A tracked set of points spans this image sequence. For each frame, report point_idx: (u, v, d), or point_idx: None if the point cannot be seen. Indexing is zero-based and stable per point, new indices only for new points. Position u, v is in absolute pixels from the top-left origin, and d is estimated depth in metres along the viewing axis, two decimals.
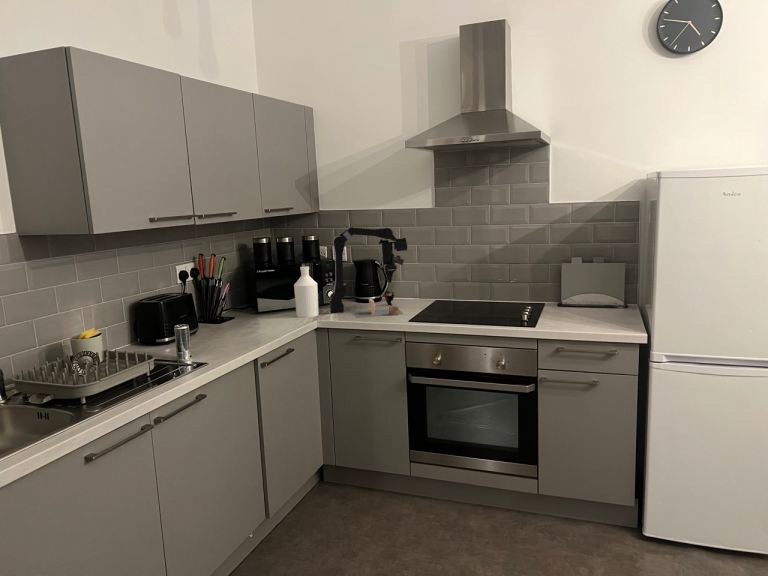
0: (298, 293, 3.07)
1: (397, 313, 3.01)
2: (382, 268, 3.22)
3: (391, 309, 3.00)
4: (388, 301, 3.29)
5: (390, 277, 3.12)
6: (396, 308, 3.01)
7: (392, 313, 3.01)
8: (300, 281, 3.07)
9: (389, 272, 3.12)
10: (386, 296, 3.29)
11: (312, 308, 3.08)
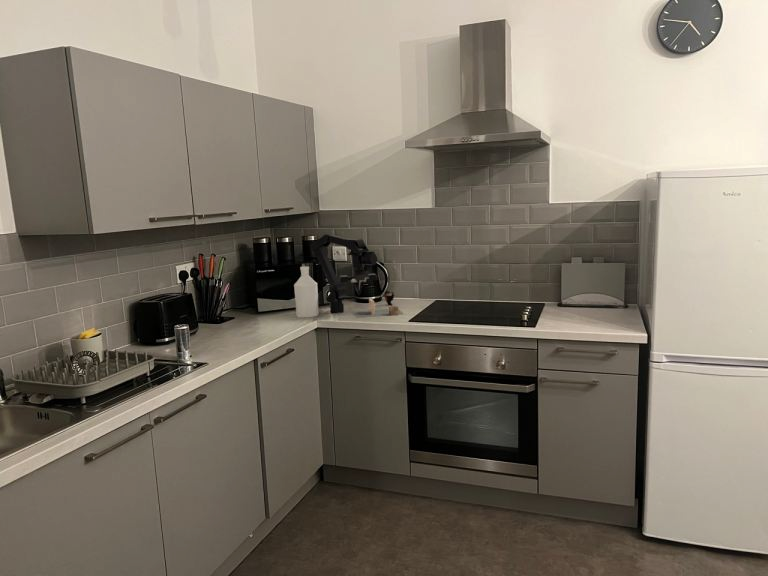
0: (298, 293, 3.07)
1: (397, 313, 3.01)
2: (359, 281, 3.07)
3: (391, 309, 3.00)
4: (388, 301, 3.29)
5: (356, 289, 3.05)
6: (396, 308, 3.01)
7: (392, 313, 3.01)
8: (300, 281, 3.07)
9: None
10: (386, 296, 3.29)
11: (312, 308, 3.08)
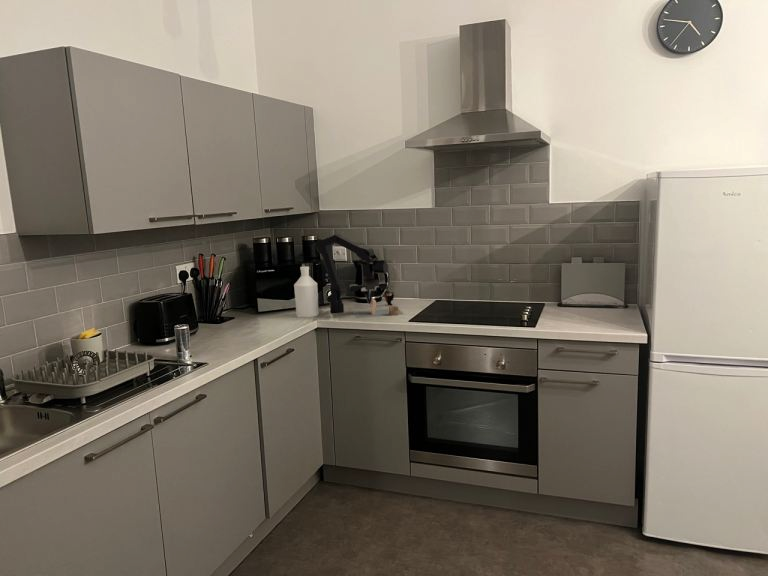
0: (298, 293, 3.07)
1: (397, 313, 3.01)
2: (369, 290, 3.08)
3: (391, 309, 3.00)
4: (388, 301, 3.29)
5: None
6: (396, 308, 3.01)
7: (392, 313, 3.01)
8: (300, 281, 3.07)
9: None
10: (386, 296, 3.29)
11: (312, 308, 3.08)
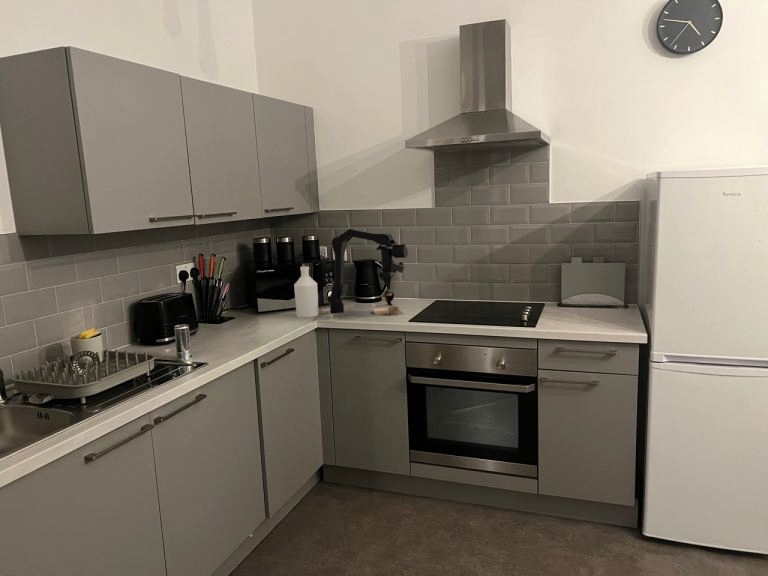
0: (298, 293, 3.07)
1: (397, 313, 3.01)
2: None
3: (391, 309, 3.00)
4: (388, 301, 3.29)
5: (388, 284, 3.01)
6: (396, 308, 3.01)
7: (392, 313, 3.01)
8: (300, 281, 3.07)
9: (387, 279, 3.01)
10: (386, 296, 3.29)
11: (312, 308, 3.08)
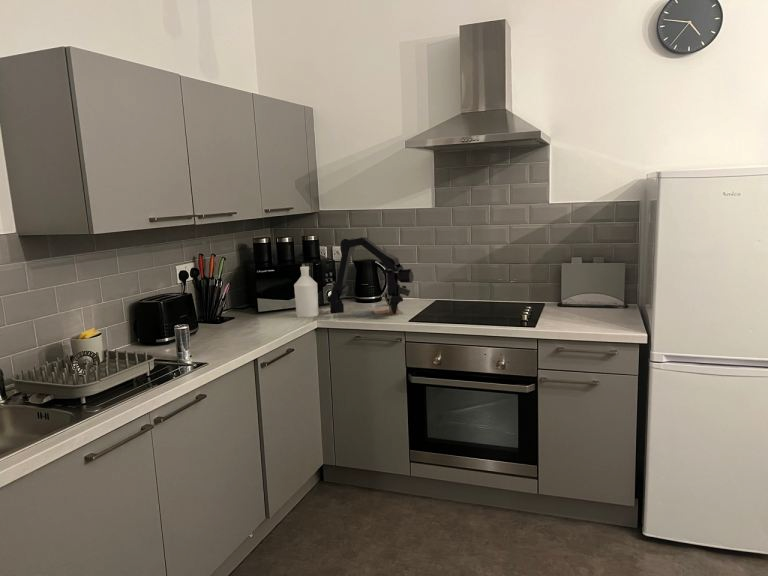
0: (298, 293, 3.07)
1: (397, 313, 3.01)
2: (388, 299, 3.04)
3: (391, 309, 3.00)
4: None
5: (395, 308, 2.99)
6: None
7: (392, 313, 3.01)
8: (300, 281, 3.07)
9: (394, 303, 2.99)
10: (386, 296, 3.28)
11: (312, 308, 3.08)
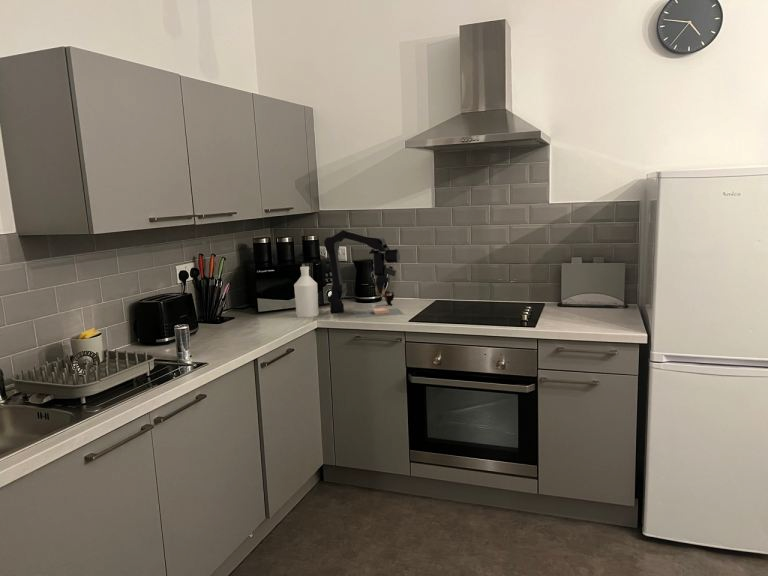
0: (298, 293, 3.07)
1: (383, 293, 3.05)
2: (374, 280, 3.08)
3: (377, 289, 3.04)
4: (388, 301, 3.28)
5: (381, 288, 3.03)
6: None
7: (378, 293, 3.05)
8: (300, 281, 3.07)
9: (380, 283, 3.03)
10: (386, 296, 3.28)
11: (312, 308, 3.08)
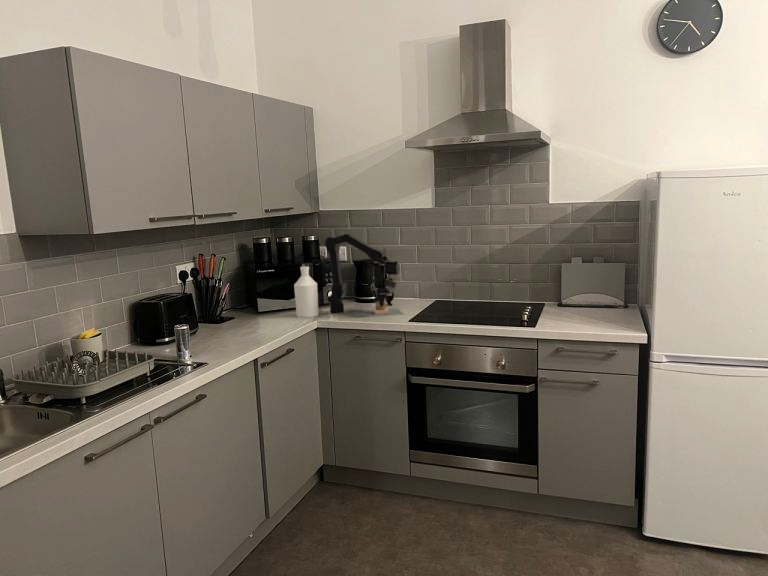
0: (298, 293, 3.07)
1: (384, 308, 3.07)
2: (374, 291, 3.12)
3: (378, 304, 3.06)
4: (388, 301, 3.28)
5: (382, 301, 3.02)
6: None
7: (379, 308, 3.06)
8: (300, 281, 3.07)
9: (381, 296, 3.02)
10: (386, 296, 3.28)
11: (312, 308, 3.08)
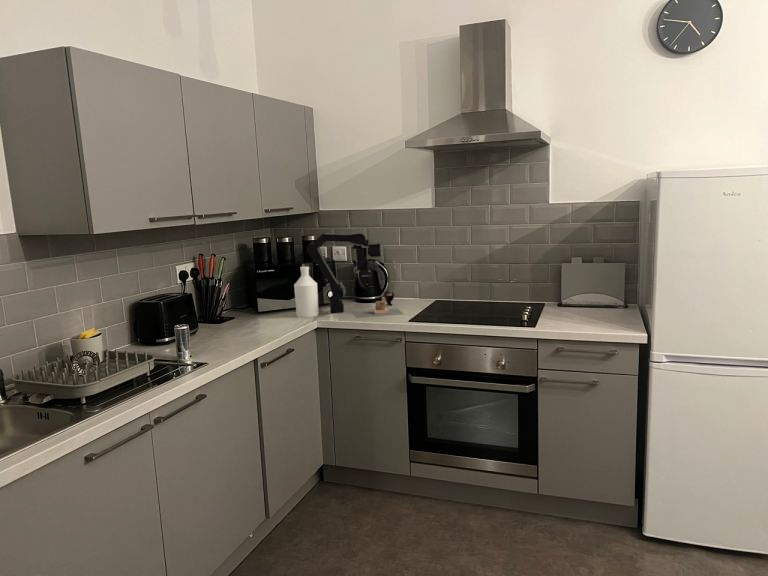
0: (298, 293, 3.07)
1: (384, 308, 3.07)
2: (357, 274, 3.16)
3: (378, 304, 3.06)
4: (388, 301, 3.28)
5: (364, 283, 3.06)
6: (383, 303, 3.06)
7: (379, 308, 3.06)
8: (300, 281, 3.07)
9: (363, 278, 3.06)
10: (386, 296, 3.28)
11: (312, 308, 3.08)
